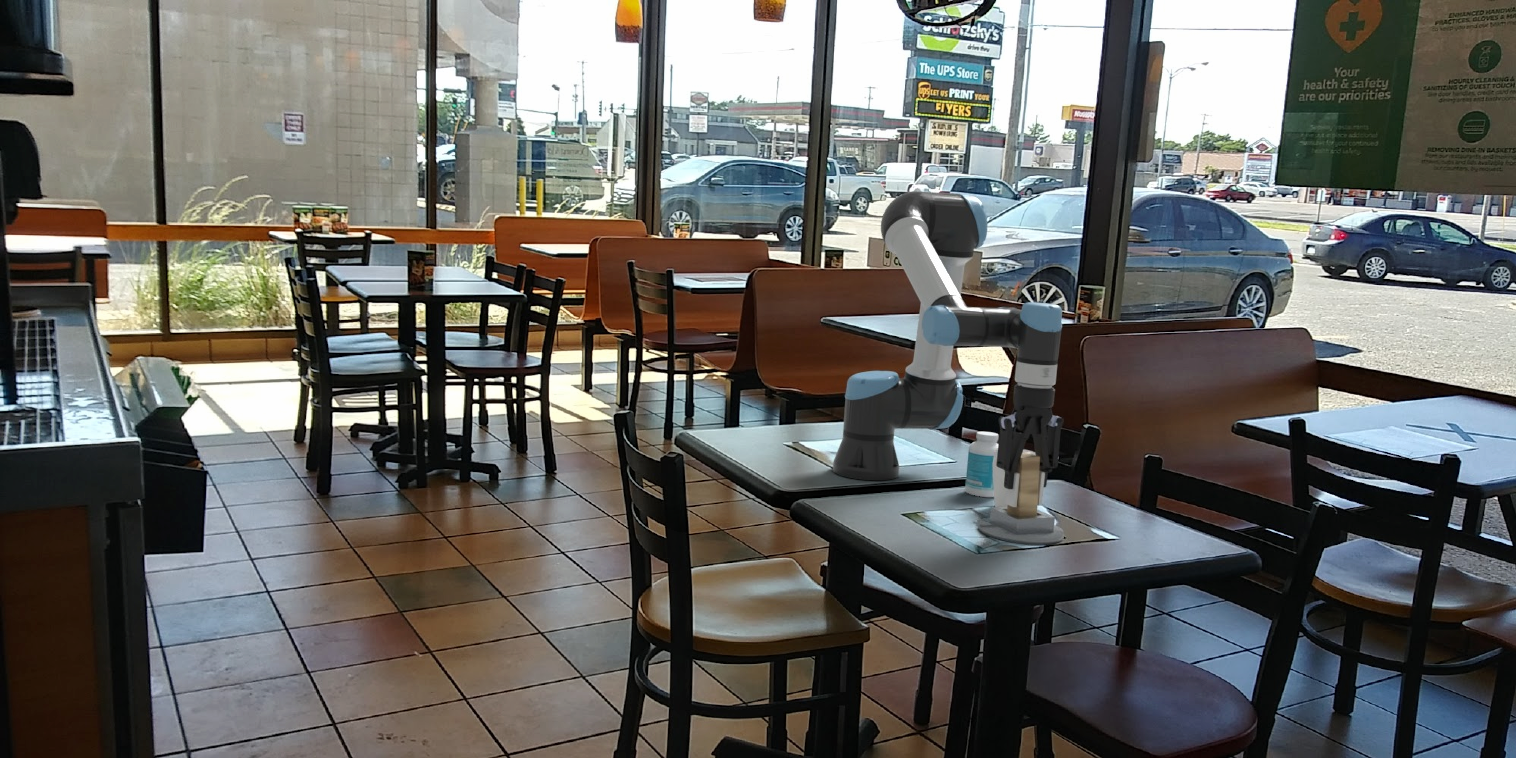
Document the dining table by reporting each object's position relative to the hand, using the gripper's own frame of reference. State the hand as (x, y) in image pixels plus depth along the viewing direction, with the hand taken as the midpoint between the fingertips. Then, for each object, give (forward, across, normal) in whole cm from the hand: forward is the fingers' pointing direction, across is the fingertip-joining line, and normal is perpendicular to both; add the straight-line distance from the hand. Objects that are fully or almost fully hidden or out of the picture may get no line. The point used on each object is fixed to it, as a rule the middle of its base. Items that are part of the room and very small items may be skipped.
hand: (1023, 504), depth 219 cm
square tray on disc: (+6, 0, 0) cm, 6 cm away
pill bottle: (+6, +10, +28) cm, 30 cm away
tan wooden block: (+4, 0, 0) cm, 4 cm away
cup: (+6, +9, +16) cm, 19 cm away
